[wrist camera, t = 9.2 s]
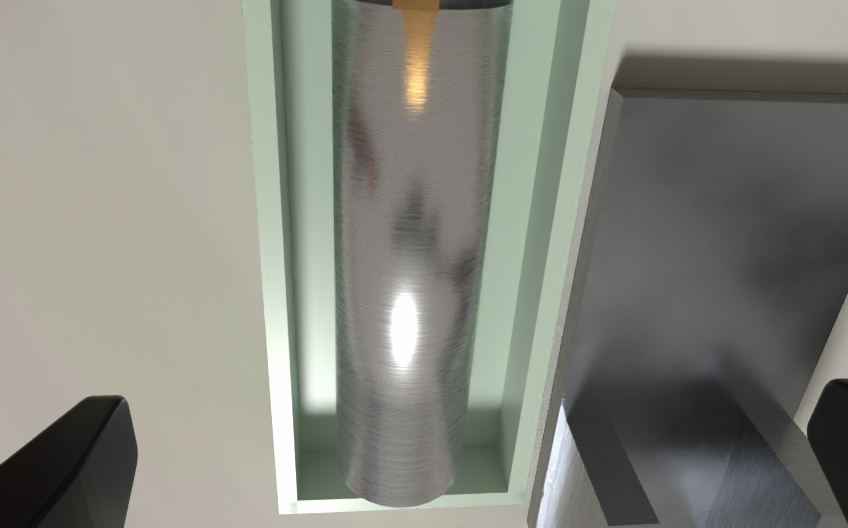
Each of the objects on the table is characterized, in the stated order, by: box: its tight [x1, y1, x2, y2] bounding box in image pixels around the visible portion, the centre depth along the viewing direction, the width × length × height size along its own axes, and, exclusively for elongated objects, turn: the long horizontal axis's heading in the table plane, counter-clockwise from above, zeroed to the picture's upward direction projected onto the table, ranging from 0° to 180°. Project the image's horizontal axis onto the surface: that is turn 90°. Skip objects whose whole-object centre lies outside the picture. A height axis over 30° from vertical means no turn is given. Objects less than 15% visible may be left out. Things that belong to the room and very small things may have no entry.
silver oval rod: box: [331, 0, 514, 508], centre depth 17 cm, size 4×15×6 cm, turn 177°
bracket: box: [527, 87, 848, 528], centre depth 21 cm, size 9×18×6 cm, turn 177°
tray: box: [241, 0, 616, 514], centre depth 19 cm, size 8×18×3 cm, turn 177°
